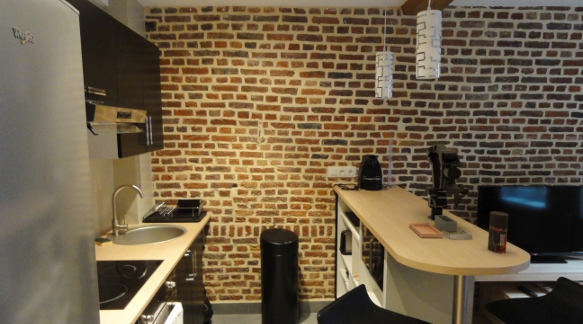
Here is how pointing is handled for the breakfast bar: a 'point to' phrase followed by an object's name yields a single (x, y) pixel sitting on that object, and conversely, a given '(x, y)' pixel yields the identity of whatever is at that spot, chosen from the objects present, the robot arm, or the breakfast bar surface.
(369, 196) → the breakfast bar surface
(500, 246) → the deodorant
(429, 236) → the tray
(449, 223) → the box
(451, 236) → the bay
